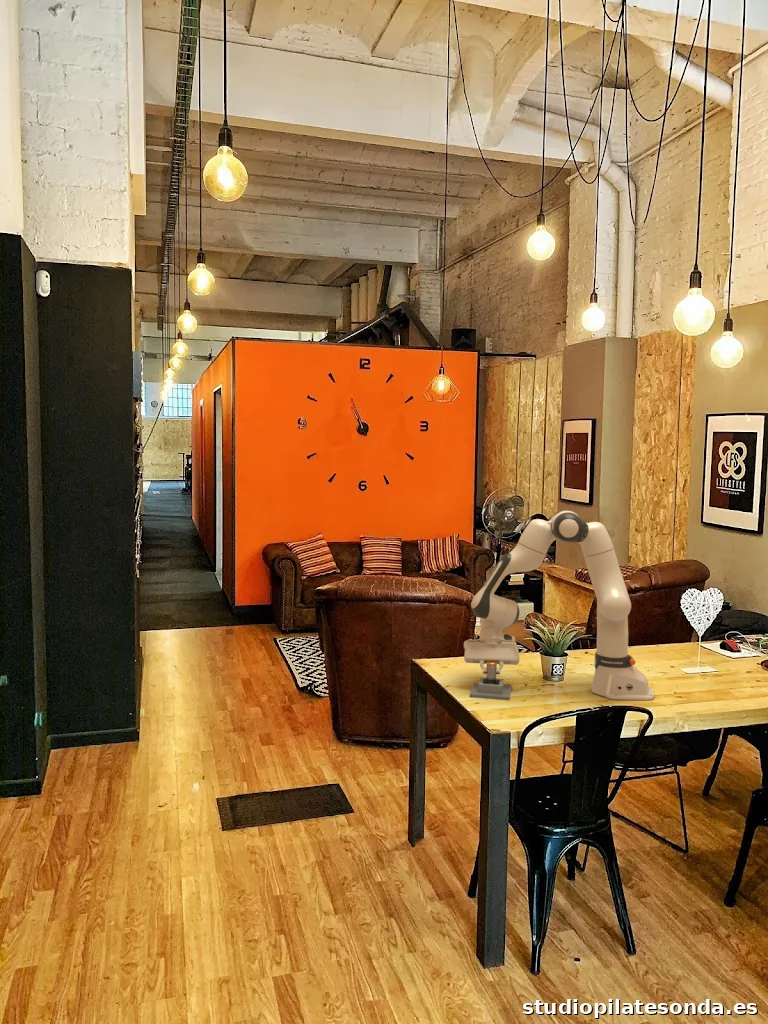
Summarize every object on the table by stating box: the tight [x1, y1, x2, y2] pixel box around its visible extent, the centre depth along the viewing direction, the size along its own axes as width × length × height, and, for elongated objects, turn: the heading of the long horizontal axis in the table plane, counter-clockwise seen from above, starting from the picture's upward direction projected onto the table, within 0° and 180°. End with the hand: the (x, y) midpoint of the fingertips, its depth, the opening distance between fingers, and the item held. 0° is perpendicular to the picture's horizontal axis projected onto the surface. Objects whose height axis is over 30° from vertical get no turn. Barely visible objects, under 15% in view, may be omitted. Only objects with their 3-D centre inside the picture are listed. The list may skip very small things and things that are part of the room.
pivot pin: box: [485, 661, 498, 685], centre depth 283 cm, size 4×4×9 cm
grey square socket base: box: [469, 677, 512, 701], centre depth 283 cm, size 14×14×4 cm
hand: (491, 673), depth 282 cm, fingers closed on pivot pin, 3 cm apart
